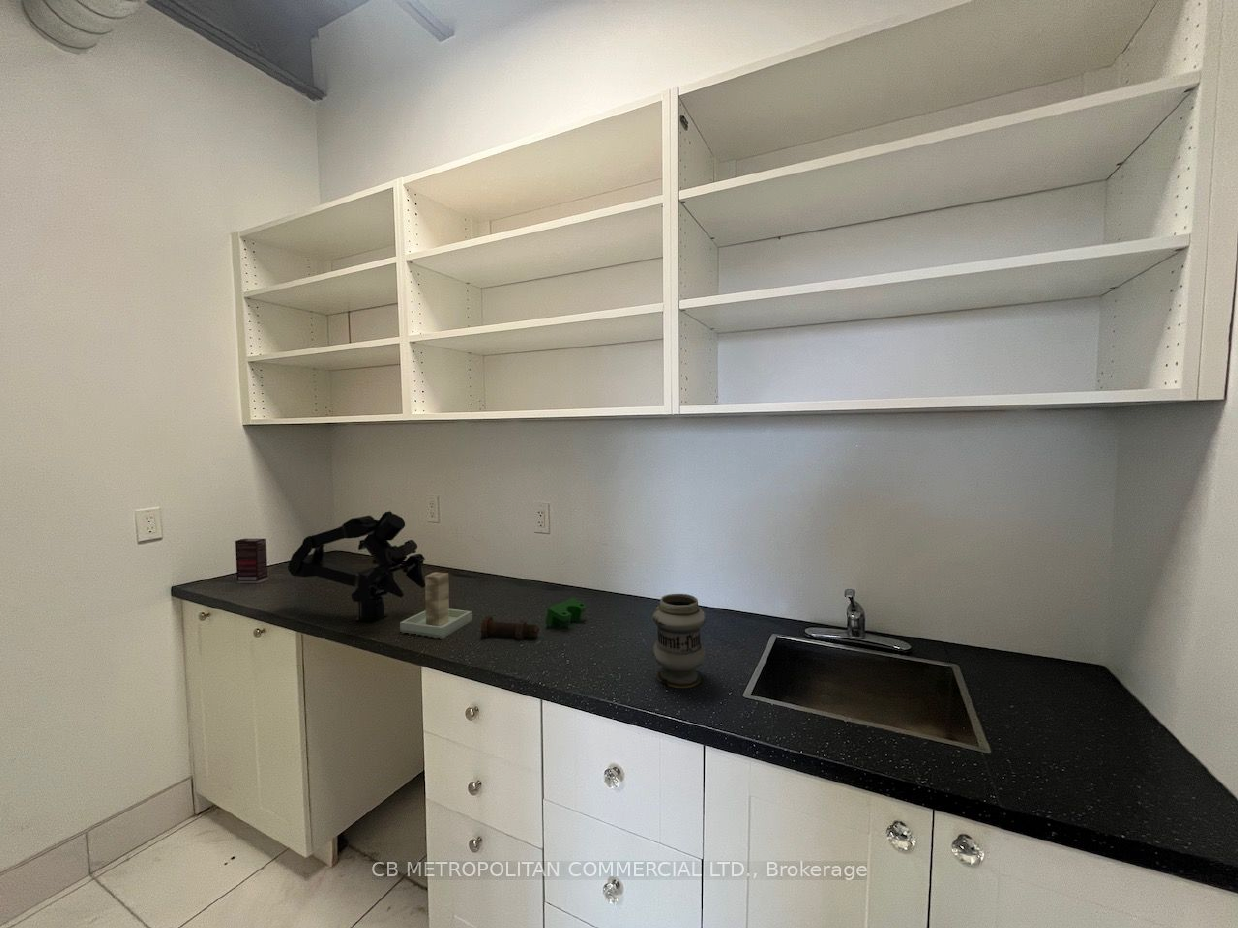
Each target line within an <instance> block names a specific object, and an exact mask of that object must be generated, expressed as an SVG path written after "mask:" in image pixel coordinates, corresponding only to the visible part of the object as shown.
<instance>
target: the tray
mask: <svg viewBox="0 0 1238 928" xmlns="http://www.w3.org/2000/svg"><path fill="white" fill-rule="evenodd" d="M472 621H473V611H472V610H466V609H465V610H464V609H456V608H449V622H447V623H446V624H444V625H442V626H433V625H426V609H425V610H423V611H420V612H419V613H416V614H414V615H412V616H410V617H409V618H406V619H404V620H402V621H399V624H400V625H399V627H400V629H399V630H400V631H399V632H402V633H401V634H404V633H409V634H408V635H411V634H416V635H415V636H418V635H421V636H420V637H424V636H428V637H427V638H431V637H433V638H434V639H438V638H440V639H439V640H443V639H445V638H446V636H447V637H448V636H450V635H452V634H453V633H455V632H456V631H458V630H460V629H462V628H463V627H464V626H466V625H469V623H471V622H472ZM433 638H432V639H433Z"/></svg>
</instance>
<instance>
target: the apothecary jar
mask: <svg viewBox="0 0 1238 928" xmlns="http://www.w3.org/2000/svg"><path fill="white" fill-rule="evenodd" d="M659 600H660V601H659V604H658V606H657V607H656V608H655V609H653V612H652V619H653V620H652V621H653V622H654V624H655V625H656V626H657V641H656V642H655V643H654V645H653V647H652V651H651V653H652V654H651V655H652V657H653V659H654V661H655V663H657V664H658V665H659V666H660V667H661V668H660V669H659V670H658V671H657V672H656V678H657V680H658V681H659V683H661V684H665V685H667V687H670V688H675V689H690V688H693V687H696V686H698V684H700V682H702V681H701V680H702V677H701V674H700V673H699V672H698V671H697V670H696V669H698V668H699V667H700V666H702V665H703V664H704V663H705V661H706V659H707V650H706V648H705V646H704V645H703V644H702V642H701V628H702V627H703V626H704V625H705V623H706V621H707V620H706V619H707V618H706V617H707V616H706V613H705V612H704V610H703V609H702V608H701V607H700V606H699V600H698V598H697V597H695V596H693V595H690V594H686V593H670V594H666V595H663V596H661V598H660V599H659Z"/></svg>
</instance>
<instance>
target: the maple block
mask: <svg viewBox="0 0 1238 928" xmlns="http://www.w3.org/2000/svg"><path fill="white" fill-rule="evenodd" d="M424 582H425V587H424V590H425V591H424V592H425V595H424V596H425V599H424V600H425V610H426V625H433V626H442V625H444V624H446V623H447V622H449V607H450V605H449V603H450V602H449V601H450V599H449V596H450V595H449V573H446V572H432V573H430V574H428V575H425V576H424Z"/></svg>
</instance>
